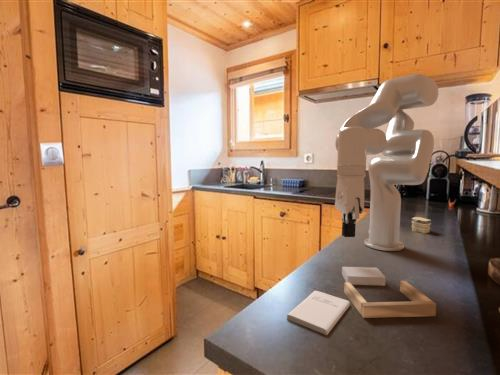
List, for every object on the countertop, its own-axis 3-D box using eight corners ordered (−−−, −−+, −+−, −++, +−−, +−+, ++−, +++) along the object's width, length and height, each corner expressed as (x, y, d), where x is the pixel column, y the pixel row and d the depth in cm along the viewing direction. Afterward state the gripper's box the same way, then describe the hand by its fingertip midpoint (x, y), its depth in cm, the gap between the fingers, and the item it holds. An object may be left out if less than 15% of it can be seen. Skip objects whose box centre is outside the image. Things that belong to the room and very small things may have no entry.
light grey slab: (341, 275, 73) (342, 266, 73) (376, 276, 73) (376, 267, 72) (347, 285, 68) (347, 276, 67) (385, 287, 67) (385, 277, 66)
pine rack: (344, 292, 63) (344, 282, 63) (404, 290, 64) (405, 280, 63) (363, 317, 53) (363, 305, 53) (435, 316, 54) (436, 304, 53)
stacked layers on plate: (438, 233, 112) (439, 220, 111) (425, 236, 108) (425, 222, 108) (415, 227, 121) (415, 215, 120) (401, 230, 117) (402, 217, 117)
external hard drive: (286, 321, 53) (314, 296, 63) (326, 338, 48) (350, 307, 58) (286, 313, 53) (314, 289, 63) (327, 329, 48) (350, 300, 58)
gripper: (329, 171, 83) (327, 230, 85) (348, 172, 68) (345, 243, 70) (353, 171, 83) (351, 230, 85) (377, 173, 69) (373, 244, 70)
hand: (348, 236), depth 77 cm, fingers closed
